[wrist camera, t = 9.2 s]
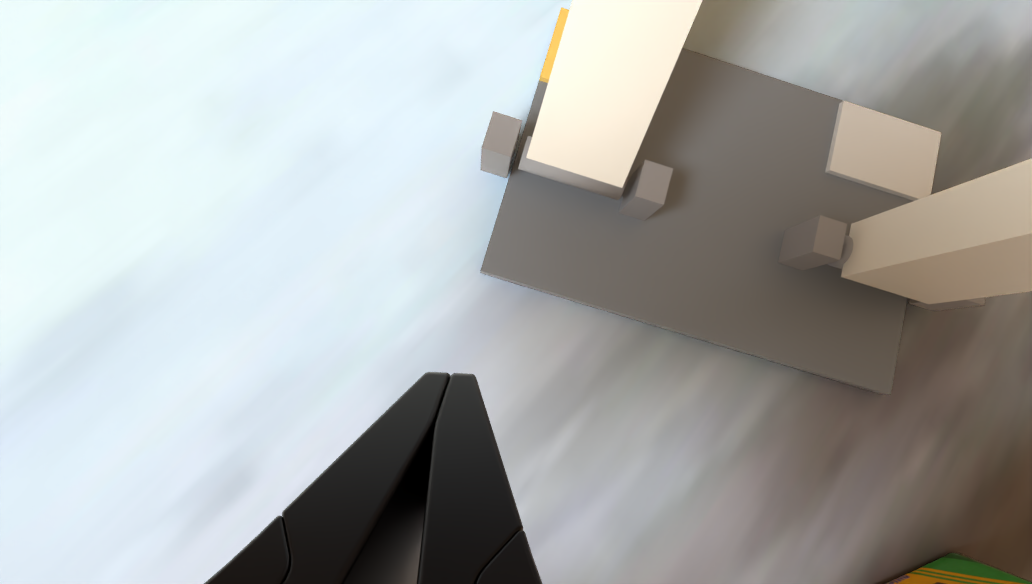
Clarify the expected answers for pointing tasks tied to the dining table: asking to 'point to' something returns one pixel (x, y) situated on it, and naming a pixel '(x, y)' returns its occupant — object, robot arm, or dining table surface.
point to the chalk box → (958, 573)
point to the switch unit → (726, 220)
